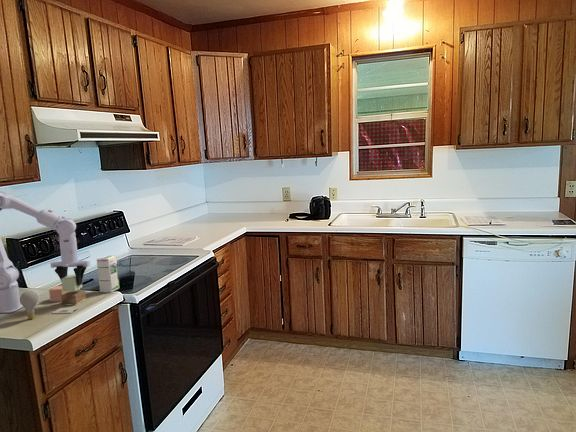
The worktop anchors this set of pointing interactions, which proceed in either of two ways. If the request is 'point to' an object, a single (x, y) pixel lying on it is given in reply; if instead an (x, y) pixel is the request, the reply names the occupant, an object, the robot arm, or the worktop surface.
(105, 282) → the syrup box
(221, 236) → the worktop surface
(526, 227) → the worktop surface
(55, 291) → the terracotta block
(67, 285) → the sage block
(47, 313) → the worktop surface
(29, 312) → the light bulb
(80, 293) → the walnut block
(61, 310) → the card
